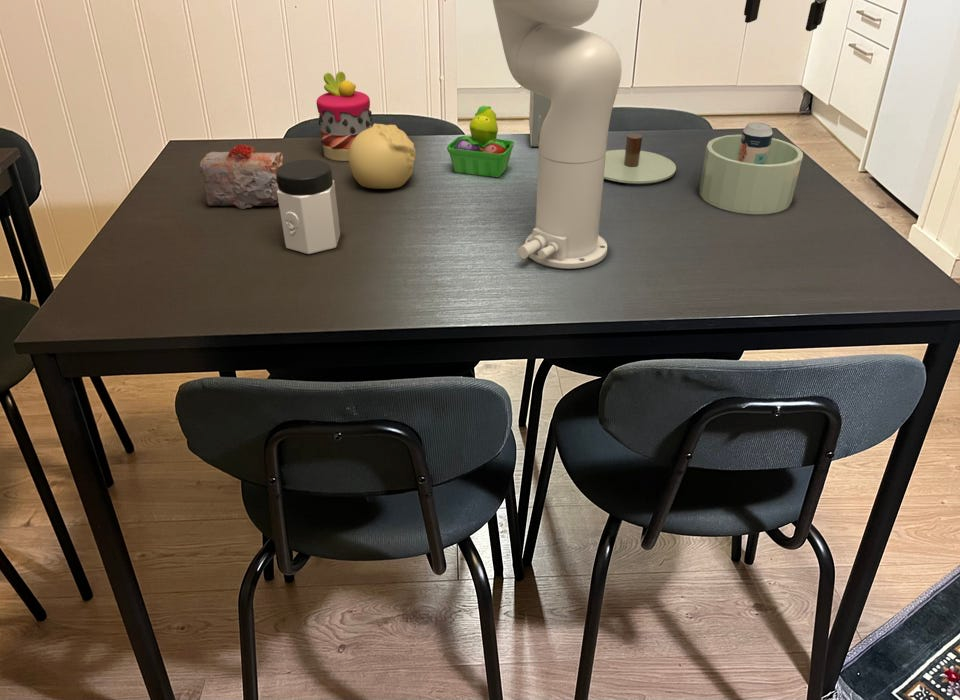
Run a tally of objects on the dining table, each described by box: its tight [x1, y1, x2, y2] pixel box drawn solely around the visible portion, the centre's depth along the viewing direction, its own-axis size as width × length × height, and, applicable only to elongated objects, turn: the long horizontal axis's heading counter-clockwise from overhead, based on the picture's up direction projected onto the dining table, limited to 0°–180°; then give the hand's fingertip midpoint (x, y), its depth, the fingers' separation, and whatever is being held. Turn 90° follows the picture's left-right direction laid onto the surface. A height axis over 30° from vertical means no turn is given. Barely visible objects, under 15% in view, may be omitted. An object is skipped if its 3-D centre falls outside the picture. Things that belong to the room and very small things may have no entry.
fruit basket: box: [446, 105, 515, 178], centre depth 141 cm, size 11×9×11 cm
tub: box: [698, 134, 804, 215], centre depth 131 cm, size 16×16×8 cm
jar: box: [276, 159, 341, 255], centre depth 115 cm, size 9×8×12 cm
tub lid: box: [604, 133, 677, 185], centre depth 142 cm, size 17×17×7 cm
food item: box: [199, 144, 284, 210], centre depth 129 cm, size 14×8×10 cm, turn 91°
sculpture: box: [348, 123, 417, 190], centre depth 136 cm, size 12×12×11 cm
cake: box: [316, 71, 373, 162], centre depth 148 cm, size 10×11×15 cm
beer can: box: [737, 122, 774, 164], centre depth 130 cm, size 5×5×12 cm
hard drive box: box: [528, 90, 551, 147], centre depth 155 cm, size 16×8×20 cm, turn 179°
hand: (780, 25), depth 118 cm, fingers open, 9 cm apart
